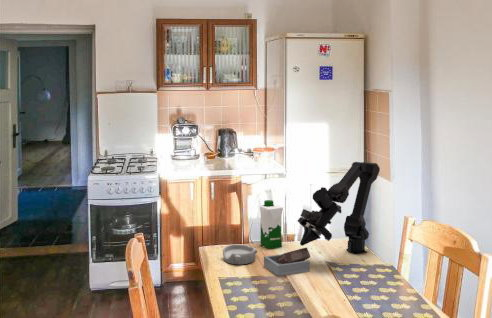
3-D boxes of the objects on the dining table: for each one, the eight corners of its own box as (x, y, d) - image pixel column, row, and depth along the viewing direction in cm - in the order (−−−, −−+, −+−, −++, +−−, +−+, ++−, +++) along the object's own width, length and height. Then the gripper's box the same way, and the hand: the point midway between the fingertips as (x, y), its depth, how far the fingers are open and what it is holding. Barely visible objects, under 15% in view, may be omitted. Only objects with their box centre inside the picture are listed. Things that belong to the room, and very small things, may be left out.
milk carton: (274, 242, 257) (274, 199, 254) (285, 247, 249) (285, 202, 246) (257, 244, 253) (257, 201, 250) (267, 250, 245) (267, 205, 242)
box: (306, 246, 223) (284, 252, 215) (311, 256, 221) (289, 263, 214) (297, 251, 227) (275, 258, 219) (302, 262, 226) (280, 269, 218)
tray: (294, 261, 229) (294, 252, 228) (310, 271, 217) (310, 261, 217) (263, 266, 223) (263, 256, 223) (277, 276, 212) (277, 266, 211)
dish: (240, 268, 222) (240, 255, 221) (215, 261, 231) (215, 249, 230) (264, 259, 233) (263, 247, 232) (238, 252, 242) (238, 241, 241)
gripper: (301, 197, 230) (277, 226, 227) (325, 206, 213) (299, 238, 210) (318, 214, 234) (294, 243, 231) (343, 224, 217) (317, 256, 214)
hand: (300, 244), depth 221 cm, fingers closed
